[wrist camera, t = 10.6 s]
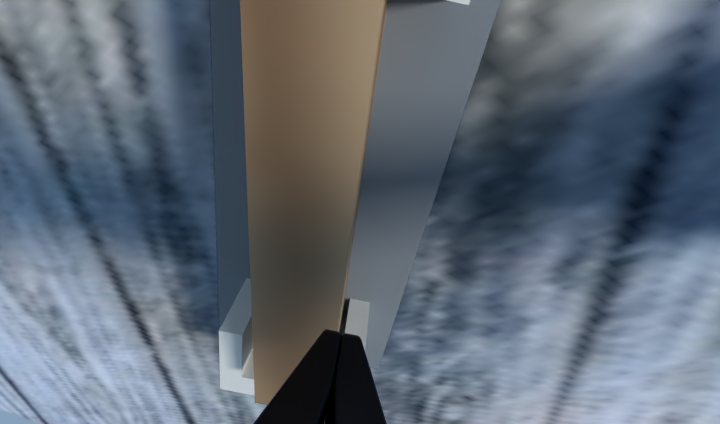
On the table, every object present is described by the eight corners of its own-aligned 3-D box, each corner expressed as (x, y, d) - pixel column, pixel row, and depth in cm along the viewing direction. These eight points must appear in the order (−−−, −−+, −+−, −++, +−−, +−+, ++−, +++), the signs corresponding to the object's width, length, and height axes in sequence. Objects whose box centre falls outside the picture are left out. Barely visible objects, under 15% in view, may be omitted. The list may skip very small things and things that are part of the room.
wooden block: (399, -79, 13) (399, -123, 8) (341, 320, 23) (325, 414, 18) (299, -94, 13) (234, -146, 8) (286, 311, 23) (255, 402, 18)
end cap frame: (565, -211, 11) (653, -314, 7) (378, 361, 26) (374, 428, 22) (209, -291, 11) (107, -440, 7) (222, 331, 26) (191, 393, 22)
